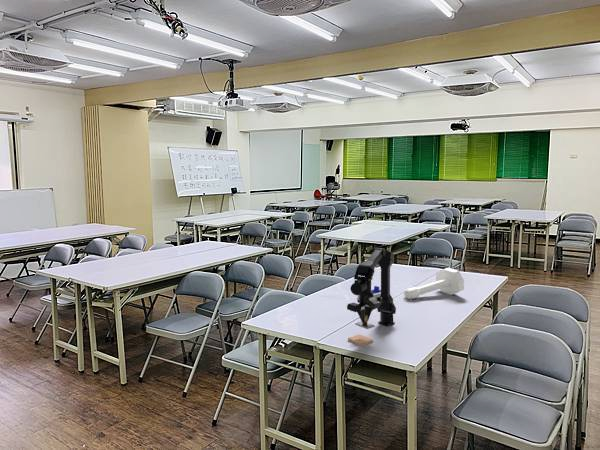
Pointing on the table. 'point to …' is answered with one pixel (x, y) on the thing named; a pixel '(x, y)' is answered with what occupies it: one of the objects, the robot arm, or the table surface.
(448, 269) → the white mallet
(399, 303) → the table surface
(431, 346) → the table surface
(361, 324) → the float
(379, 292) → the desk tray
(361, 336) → the tile
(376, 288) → the cable clip
